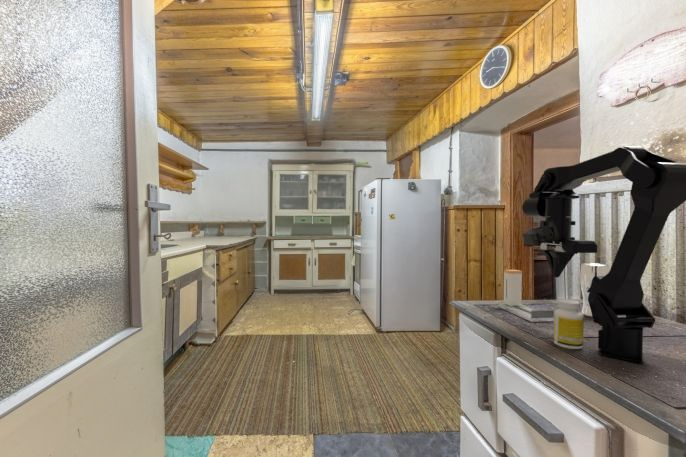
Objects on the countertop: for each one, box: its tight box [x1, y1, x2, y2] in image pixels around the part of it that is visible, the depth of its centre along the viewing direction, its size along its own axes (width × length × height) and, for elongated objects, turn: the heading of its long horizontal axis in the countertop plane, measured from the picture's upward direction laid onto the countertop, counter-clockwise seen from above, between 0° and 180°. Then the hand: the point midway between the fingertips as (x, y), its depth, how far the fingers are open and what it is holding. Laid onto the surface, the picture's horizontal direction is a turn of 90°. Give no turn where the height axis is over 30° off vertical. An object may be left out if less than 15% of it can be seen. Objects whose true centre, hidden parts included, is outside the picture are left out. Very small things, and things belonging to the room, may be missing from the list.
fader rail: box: [498, 303, 555, 323], centre depth 97 cm, size 16×7×3 cm, turn 6°
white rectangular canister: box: [503, 269, 523, 306], centre depth 102 cm, size 3×4×11 cm
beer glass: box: [579, 262, 611, 318], centre depth 96 cm, size 7×7×15 cm
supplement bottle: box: [553, 298, 585, 350], centre depth 72 cm, size 5×5×10 cm
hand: (555, 277), depth 84 cm, fingers closed
